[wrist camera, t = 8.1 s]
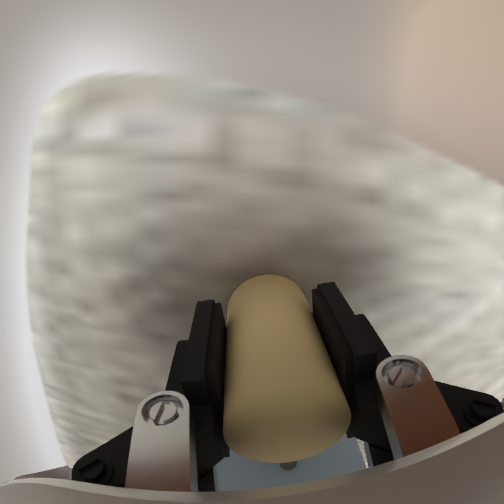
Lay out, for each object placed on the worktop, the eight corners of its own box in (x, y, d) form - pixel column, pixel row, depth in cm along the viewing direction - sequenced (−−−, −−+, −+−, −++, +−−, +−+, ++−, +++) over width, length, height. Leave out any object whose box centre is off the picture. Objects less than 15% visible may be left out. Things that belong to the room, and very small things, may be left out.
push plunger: (341, 468, 16) (360, 537, 11) (236, 484, 16) (238, 556, 11) (356, 260, 11) (436, 352, 6) (167, 287, 11) (122, 400, 6)
